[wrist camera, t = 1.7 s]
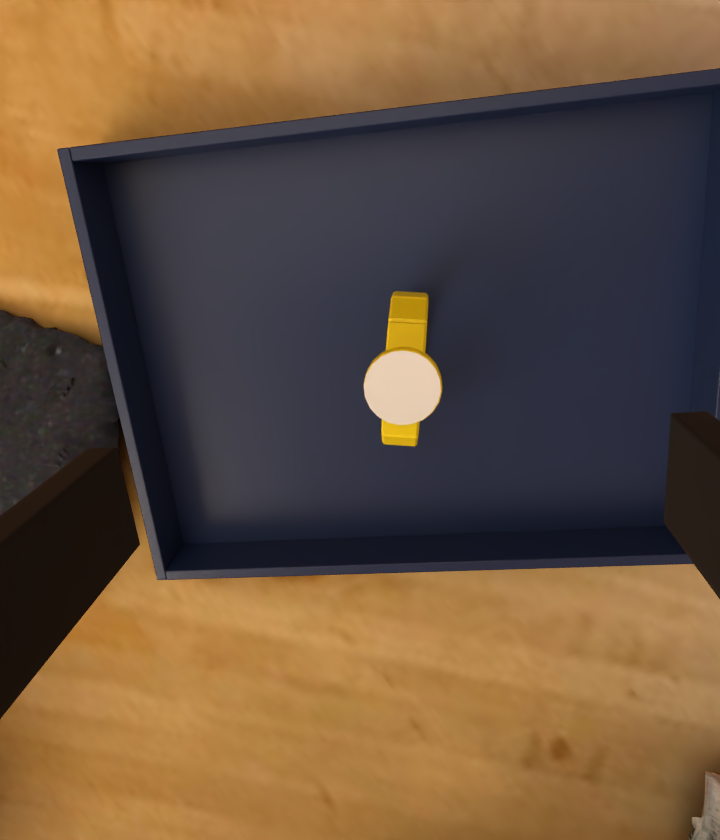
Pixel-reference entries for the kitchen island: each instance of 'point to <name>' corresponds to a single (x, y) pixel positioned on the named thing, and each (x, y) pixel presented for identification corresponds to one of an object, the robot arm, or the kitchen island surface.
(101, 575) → the robot arm
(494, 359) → the tray
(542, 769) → the kitchen island surface
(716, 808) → the packaged food
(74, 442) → the dark slate chunk
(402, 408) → the watch
